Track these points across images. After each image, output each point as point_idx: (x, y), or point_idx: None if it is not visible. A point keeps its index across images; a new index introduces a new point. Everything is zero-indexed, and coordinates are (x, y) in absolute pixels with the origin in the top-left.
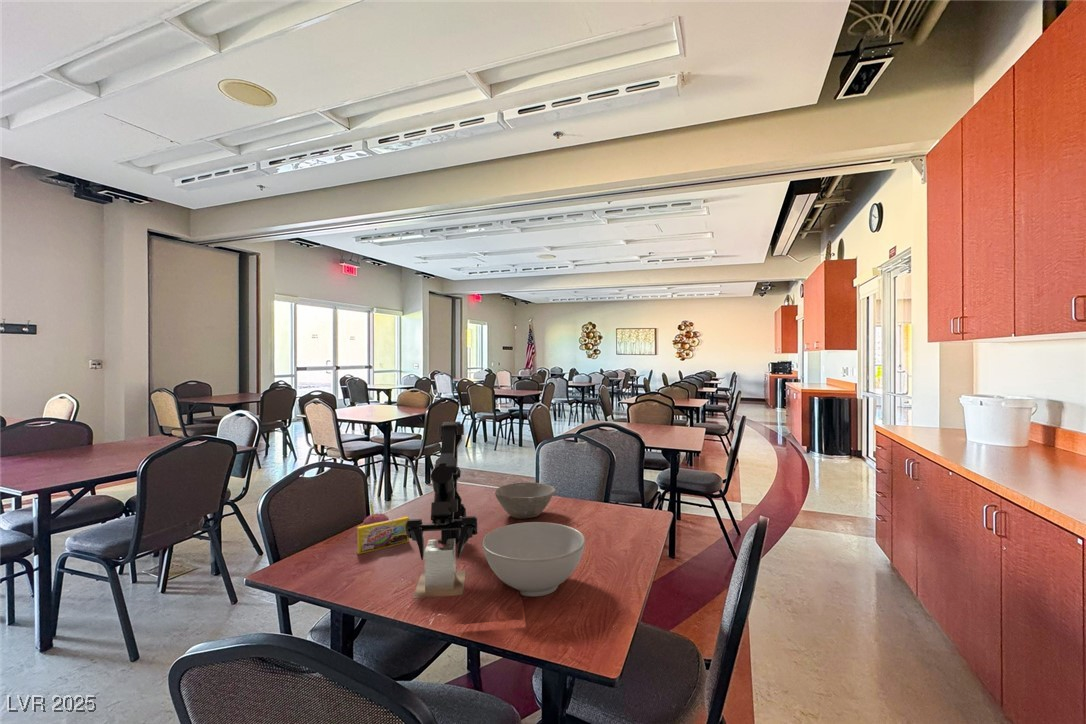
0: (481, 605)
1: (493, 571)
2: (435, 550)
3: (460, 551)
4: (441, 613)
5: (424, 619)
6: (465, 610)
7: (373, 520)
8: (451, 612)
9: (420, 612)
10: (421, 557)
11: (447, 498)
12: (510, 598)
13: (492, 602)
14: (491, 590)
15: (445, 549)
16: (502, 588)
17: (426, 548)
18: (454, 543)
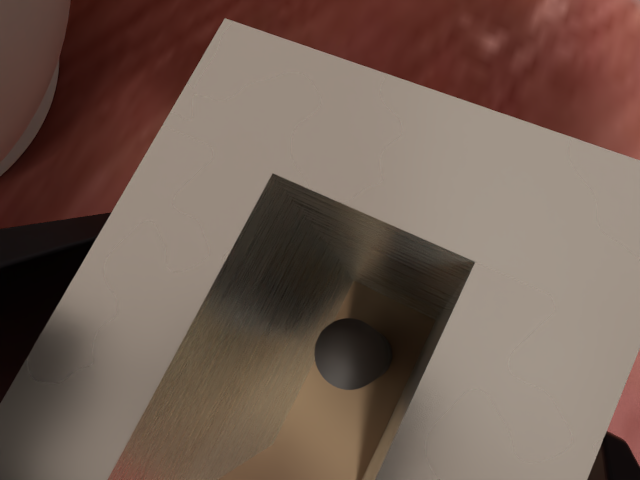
0: (258, 29)
1: (56, 21)
2: (479, 121)
3: (104, 217)
4: (478, 44)
5: (590, 26)
6: (349, 18)
7: None
8: (423, 31)
9: (595, 110)
10: (620, 439)
11: None
12: (111, 29)
13: (199, 32)
14: (134, 150)
15: (310, 85)
16: (79, 141)
17: (624, 316)
18: (68, 314)
